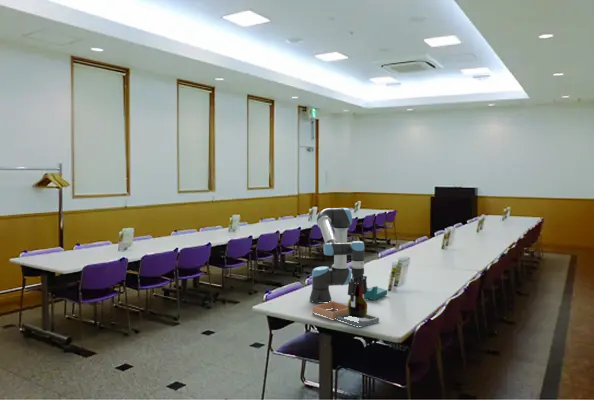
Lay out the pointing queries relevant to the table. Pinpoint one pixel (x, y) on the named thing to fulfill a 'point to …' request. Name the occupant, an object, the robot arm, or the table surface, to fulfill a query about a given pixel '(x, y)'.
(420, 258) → the table surface
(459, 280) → the table surface
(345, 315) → the tray
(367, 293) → the teal l-shaped bracket
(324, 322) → the table surface
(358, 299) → the bottle
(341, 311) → the holder
